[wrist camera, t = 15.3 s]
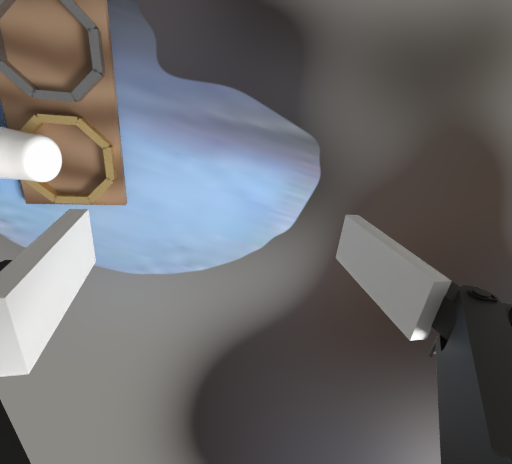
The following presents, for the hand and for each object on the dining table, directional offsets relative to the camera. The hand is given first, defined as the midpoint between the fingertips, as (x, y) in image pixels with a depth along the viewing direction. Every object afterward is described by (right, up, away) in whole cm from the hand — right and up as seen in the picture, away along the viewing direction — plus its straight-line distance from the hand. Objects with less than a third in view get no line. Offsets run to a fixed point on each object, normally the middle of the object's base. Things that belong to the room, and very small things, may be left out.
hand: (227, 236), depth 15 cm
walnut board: (-24, +17, +23) cm, 37 cm away
